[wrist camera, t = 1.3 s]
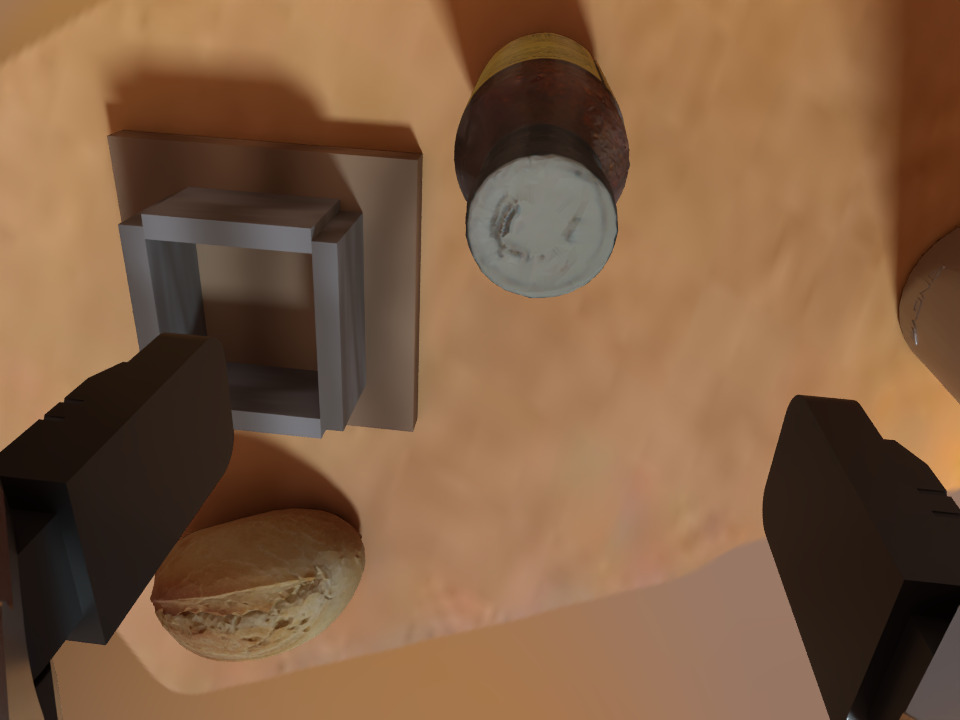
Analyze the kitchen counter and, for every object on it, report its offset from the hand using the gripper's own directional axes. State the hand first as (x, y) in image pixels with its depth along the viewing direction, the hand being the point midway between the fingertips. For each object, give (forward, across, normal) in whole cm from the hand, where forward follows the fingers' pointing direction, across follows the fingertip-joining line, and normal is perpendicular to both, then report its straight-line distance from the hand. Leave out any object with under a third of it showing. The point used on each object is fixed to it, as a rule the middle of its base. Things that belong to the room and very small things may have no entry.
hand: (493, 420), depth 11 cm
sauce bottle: (+30, 0, 0) cm, 30 cm away
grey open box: (+30, +14, +11) cm, 35 cm away
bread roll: (+30, +16, +30) cm, 46 cm away
